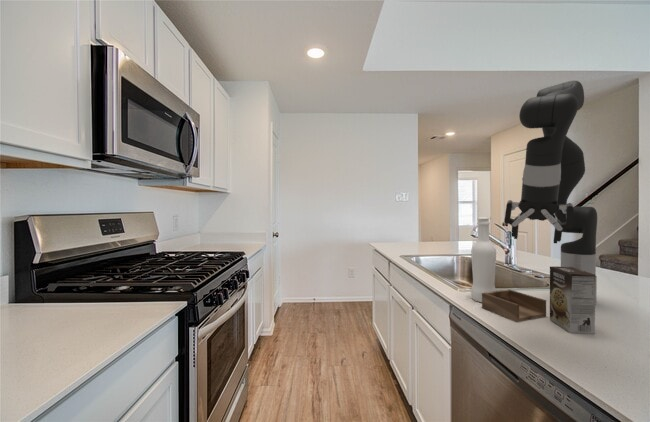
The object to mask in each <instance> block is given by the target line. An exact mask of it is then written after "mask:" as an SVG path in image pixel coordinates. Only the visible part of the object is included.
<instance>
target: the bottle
mask: <svg viewBox="0 0 650 422" xmlns="http://www.w3.org/2000/svg"><path fill="white" fill-rule="evenodd" d="M489 220H490V219H489V217H488V216H479V217H477V240H476V241H475V242H474V244H473V245H472V247H471V251H470V252H471V253H470V255H471V256H470V257H471V268H472V269H471V270H472V271H471V272H472V286H471V289H470V295H471V298H472V300H473V301H476V302H478V303H480V304H482V293H486V292H493V291H497V290H496V286H495V282H496V281H495V280H496V279H495V278H496V266H497V265H496V262H497V249H496V247H495V245H494V244H493V242H491V240H490V225H491V224H490V221H489Z"/></svg>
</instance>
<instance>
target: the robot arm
mask: <svg viewBox="0 0 650 422" xmlns="http://www.w3.org/2000/svg"><path fill="white" fill-rule="evenodd" d="M584 91H585V90H584V87H583V84H582V83H581V82H580V81H578V80H570V81H565V82H562V83H559V84H556V85H551V86H547V87H545V88H542V89H540V90H538V91H537V94H536V96H533V97H530V98H528V99H526V101H525V102H523V104H522V105H521V108H520V111H519V121H520V123H521V125H522V126H523V127H524V128H527V129H541V130H542V134H543V136H541V137H536V138H533V139H530V140H529V141H528V142H527V144H526V148H525V149H526V150H525V160H524V161H525V163H524V167H523V171H522V178H521V181H522V182H521V183H522V184H521V197H520V201H519V202H517V201H513V200H507V203H506V207H505V214H504V220H503V222H504V224H506V225H508V224H509V225H510V226H511V237H513V238H514V240H518V235H519V224H520V223H523V221H525V220H526V219H529V220H530V221H534V220H535V221H536V220H537V221H540V222H541V221H543V222H544V221H545V220H548V222H549V223H550V224H551V225H552V226H553V227H554V233H553V244H558V242H559V243H560V242H561V241H562V236H563V235H562V234H563V233H569V234H570V233H571V234H581V237H579V238H578V239H576V240H572V241H568V242H564V243H561V245H560V267H573V268H576V269H579V270H583V271H586V272H589V273H592V274H595V275H596V287H595V304H596V303H597V298H598V297H597V289H598V287H597V286H598V285H597V281H598V280H597V273H596V268H597V265H596V264H597V263H596V261H597V260H596V258H597V257H596V256H597V255H596V254H597V253H596V252H597V250H596V249H597V247H596V246H597V227H598V212H597V210H596V208H595V207H593V206H574V205H573V203H572V202H568V199H569V197H570V196H571V194H572V192H573V191H574V189H575V188H576V187H577V185H578V184H579V183H580V181H581V180H582V179H583V177H584V175H585V173H586V164H585V154H584V152H583V150H582V148H581V147H580V146H579V145H578V144H577V143H576V142H575V141H573V140H572V139H571V138H569V136H567V134H568V132H569V129H570V128H571V125H572V123H573V121H574V120H575V117H576V115H577V113H578V111H579V110H581V109H582V108H583V106H584V103H585V92H584ZM516 208H518V209H519V210H520V213H519V214H518V215H517V216H515V218H512V217H511V216H512V211H515V210H516Z"/></svg>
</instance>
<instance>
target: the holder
mask: <svg viewBox="0 0 650 422" xmlns="http://www.w3.org/2000/svg"><path fill="white" fill-rule="evenodd" d="M481 308H482V309H484V310H486V311H489V312H491V313H493V314H496V315H498V316H500V317H503V318H506V319H508V320H510V321H513V322H515V323H519V322H524V321H529V320H530V321H531V320H534V319H540V318H541V319H542V318H547V300H546V299H542V298H539V297H536V296H532V295H530V294H525V293H523V292H519V291H515V290H513V289H508V288H507V289H504V290H503V289H501V290H496V291H493V292H486V293H482V303H481Z"/></svg>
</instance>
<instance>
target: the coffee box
mask: <svg viewBox="0 0 650 422" xmlns="http://www.w3.org/2000/svg"><path fill="white" fill-rule="evenodd" d="M596 276H597V274H596V275H595V274H592V273H589V272H586V271H583V270H579V269H576V268H573V267H561V266H549V321H551V322H552V323H554V324H555V325H557V326H559V327H560V328H561V329H563V330H565V331H566V332H567V333H569V334H583V333H586V335H588V334H589V335H595V333H596V331H595V330H596V328H595V327H596V326H595V322H596V317H595V316H596V303H595V287H596Z"/></svg>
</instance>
